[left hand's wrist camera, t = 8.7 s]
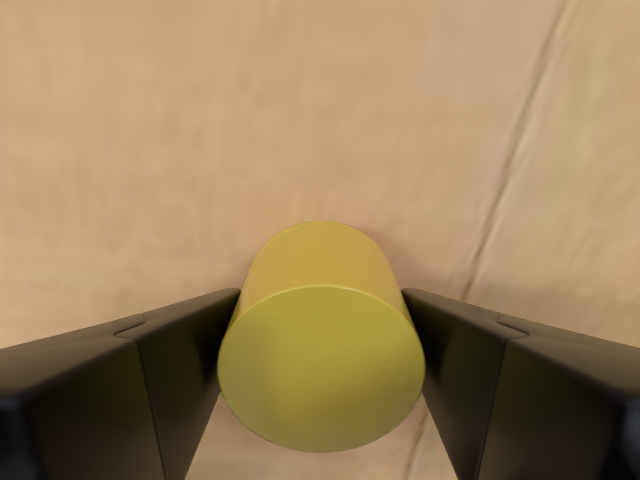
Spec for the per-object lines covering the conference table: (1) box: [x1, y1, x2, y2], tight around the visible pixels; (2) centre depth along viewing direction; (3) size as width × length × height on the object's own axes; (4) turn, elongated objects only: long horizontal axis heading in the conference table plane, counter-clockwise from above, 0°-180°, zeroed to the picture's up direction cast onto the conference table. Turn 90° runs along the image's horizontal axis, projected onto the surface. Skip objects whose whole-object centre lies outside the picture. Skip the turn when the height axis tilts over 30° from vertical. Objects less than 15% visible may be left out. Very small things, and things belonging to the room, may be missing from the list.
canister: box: [217, 221, 426, 453], centre depth 11 cm, size 5×5×4 cm
